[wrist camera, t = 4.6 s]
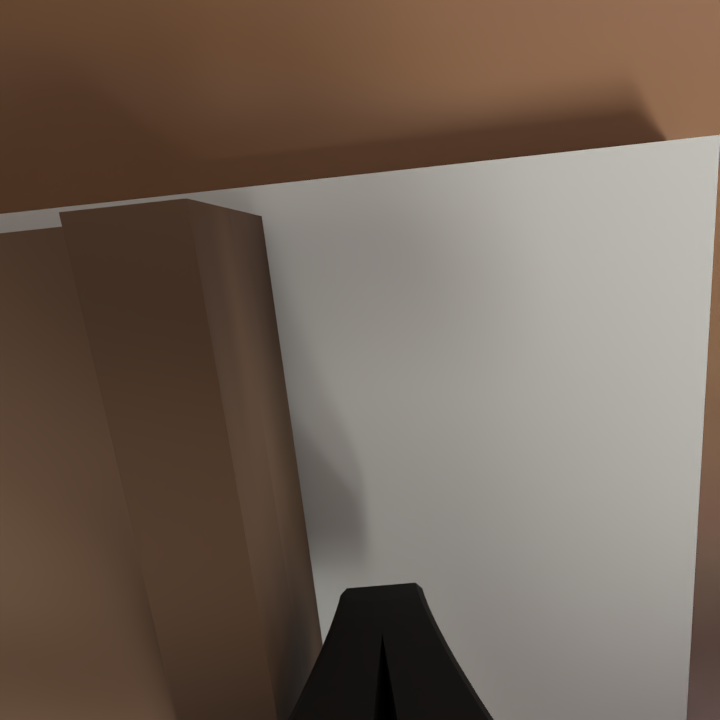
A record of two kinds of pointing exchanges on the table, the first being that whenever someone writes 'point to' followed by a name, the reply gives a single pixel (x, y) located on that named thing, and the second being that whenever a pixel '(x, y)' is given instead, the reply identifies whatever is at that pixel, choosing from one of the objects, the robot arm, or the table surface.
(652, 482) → the board
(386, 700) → the robot arm
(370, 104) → the table surface
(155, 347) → the brown rectangular box
